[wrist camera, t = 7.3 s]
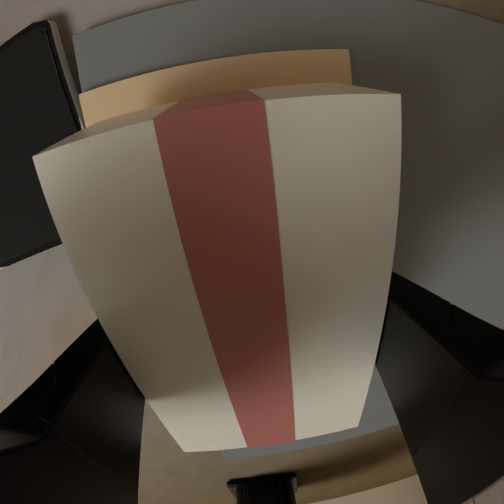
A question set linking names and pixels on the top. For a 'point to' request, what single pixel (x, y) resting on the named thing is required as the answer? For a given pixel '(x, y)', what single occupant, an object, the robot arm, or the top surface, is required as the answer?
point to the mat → (358, 74)
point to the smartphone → (31, 134)
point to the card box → (238, 253)
